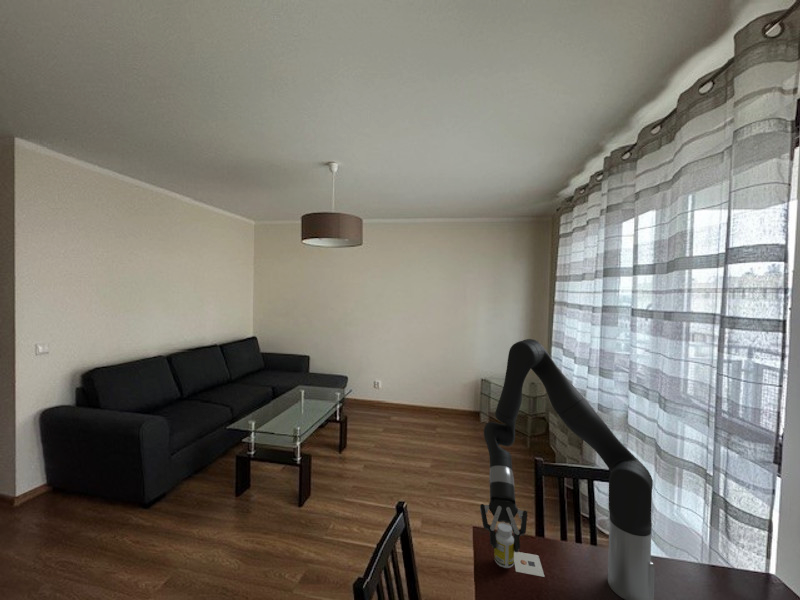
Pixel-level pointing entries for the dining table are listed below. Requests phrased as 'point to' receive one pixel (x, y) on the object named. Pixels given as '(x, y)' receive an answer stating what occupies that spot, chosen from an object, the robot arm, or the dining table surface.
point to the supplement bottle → (504, 546)
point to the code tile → (528, 564)
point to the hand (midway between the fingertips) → (505, 549)
